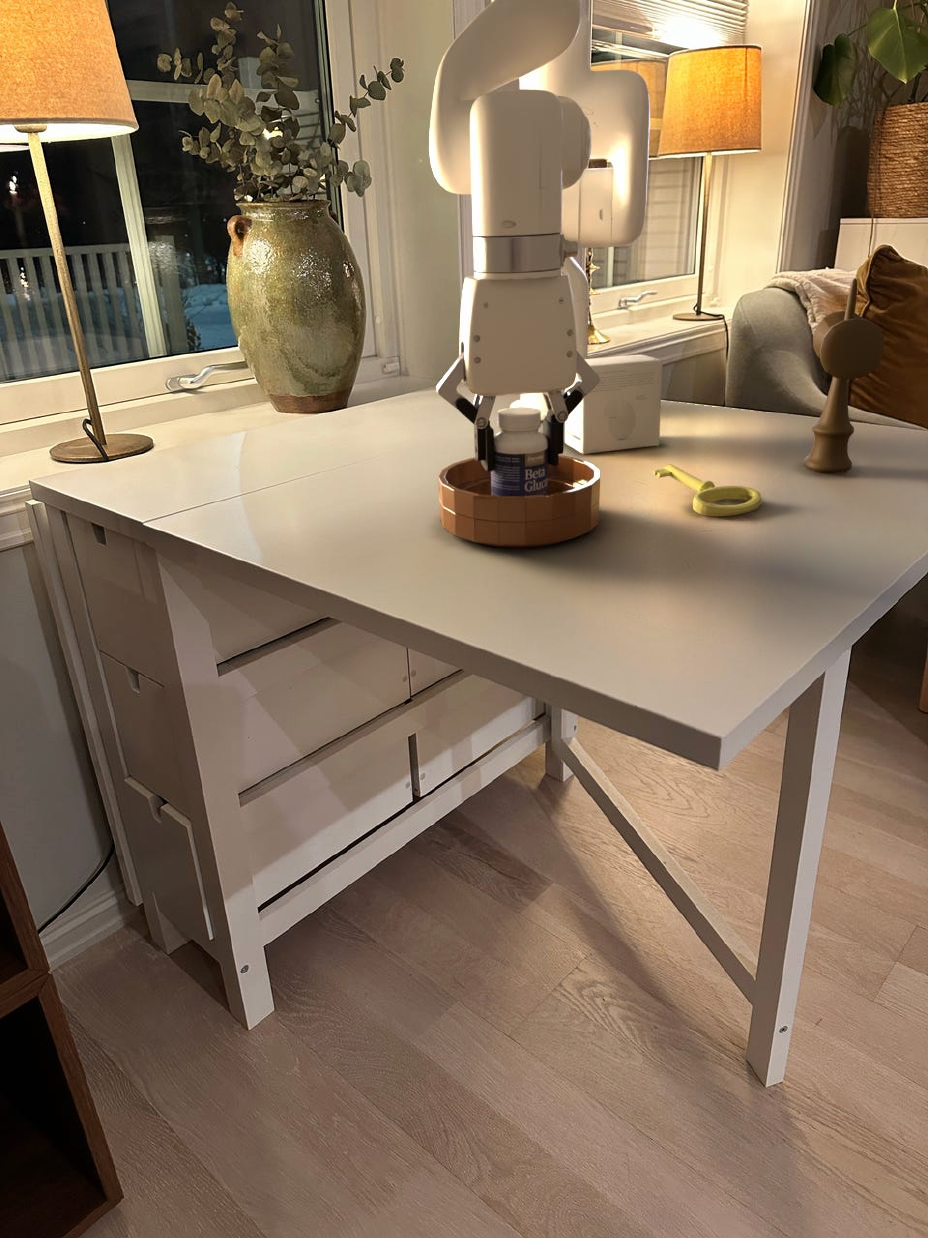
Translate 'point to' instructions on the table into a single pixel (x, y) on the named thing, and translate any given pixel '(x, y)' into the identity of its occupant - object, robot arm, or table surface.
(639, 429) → the cosmetics box
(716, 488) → the key
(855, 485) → the table surface
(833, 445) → the kendama
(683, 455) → the table surface
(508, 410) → the pill bottle
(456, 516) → the bowl
